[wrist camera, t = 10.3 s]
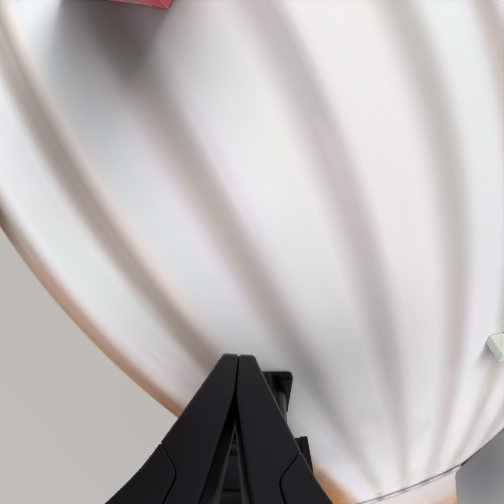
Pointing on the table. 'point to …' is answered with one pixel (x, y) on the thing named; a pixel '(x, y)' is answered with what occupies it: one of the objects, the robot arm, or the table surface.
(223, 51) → the table surface
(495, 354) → the pale grey u-shaped frame
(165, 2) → the ink box
